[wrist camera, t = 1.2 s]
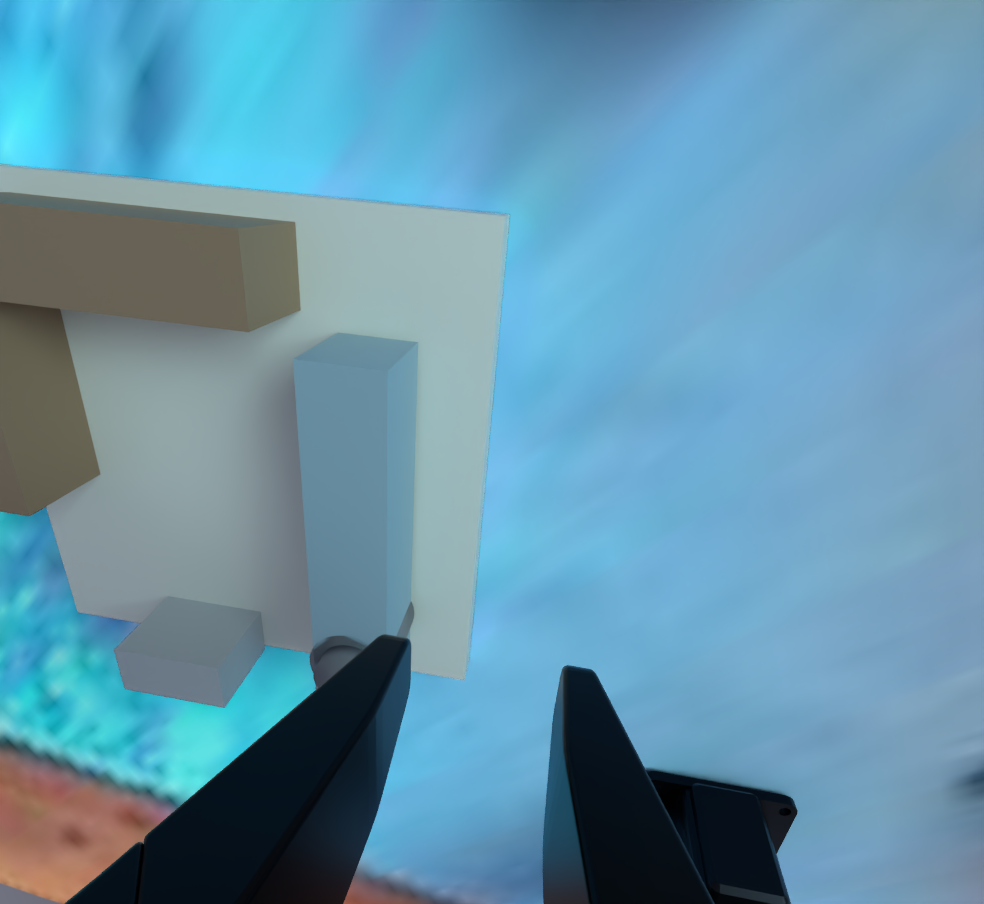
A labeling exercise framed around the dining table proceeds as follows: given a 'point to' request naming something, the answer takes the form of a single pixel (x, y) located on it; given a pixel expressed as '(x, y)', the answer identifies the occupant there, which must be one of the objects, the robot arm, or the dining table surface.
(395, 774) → the dining table surface
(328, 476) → the leg
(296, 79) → the dining table surface
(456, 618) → the seat
